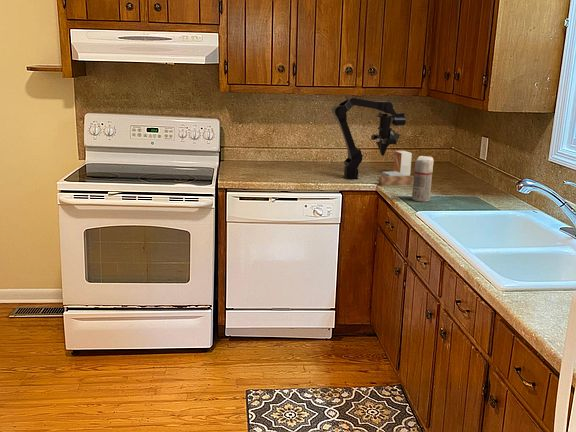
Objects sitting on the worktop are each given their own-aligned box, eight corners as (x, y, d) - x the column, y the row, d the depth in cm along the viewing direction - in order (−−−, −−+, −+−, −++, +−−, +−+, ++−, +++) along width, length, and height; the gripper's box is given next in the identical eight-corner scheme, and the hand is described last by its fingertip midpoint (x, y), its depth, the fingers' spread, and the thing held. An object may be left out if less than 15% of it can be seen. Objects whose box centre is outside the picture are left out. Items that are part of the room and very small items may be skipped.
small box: (392, 174, 340) (394, 150, 337) (403, 174, 342) (405, 150, 339) (399, 177, 333) (401, 153, 329) (410, 176, 335) (412, 152, 331)
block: (388, 184, 315) (389, 174, 314) (381, 181, 322) (382, 171, 321) (402, 183, 317) (403, 174, 316) (395, 180, 325) (396, 171, 323)
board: (381, 185, 310) (381, 177, 309) (378, 184, 313) (379, 176, 312) (413, 184, 316) (414, 176, 315) (410, 183, 319) (411, 175, 318)
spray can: (433, 202, 279) (437, 158, 274) (416, 202, 277) (419, 158, 272) (425, 197, 287) (429, 154, 282) (408, 198, 285) (412, 155, 280)
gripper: (407, 127, 316) (404, 158, 320) (390, 123, 333) (388, 152, 337) (387, 128, 313) (385, 158, 317) (371, 123, 330) (369, 152, 334)
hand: (382, 155), depth 326 cm, fingers closed
